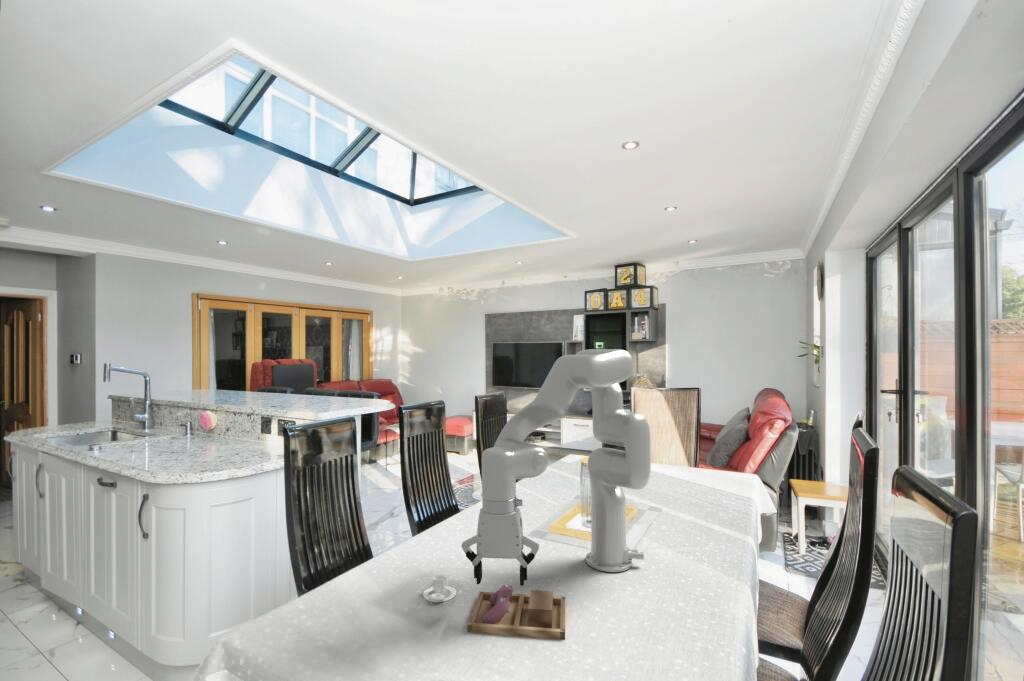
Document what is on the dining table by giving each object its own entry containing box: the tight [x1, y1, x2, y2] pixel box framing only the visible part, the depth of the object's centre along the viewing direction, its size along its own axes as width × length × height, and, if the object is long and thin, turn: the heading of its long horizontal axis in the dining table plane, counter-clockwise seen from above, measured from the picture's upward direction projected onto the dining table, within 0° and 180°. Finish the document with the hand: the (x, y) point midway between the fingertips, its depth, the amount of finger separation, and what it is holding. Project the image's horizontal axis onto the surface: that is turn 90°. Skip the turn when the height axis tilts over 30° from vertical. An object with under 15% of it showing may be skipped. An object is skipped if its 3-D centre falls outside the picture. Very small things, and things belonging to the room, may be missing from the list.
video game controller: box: [482, 583, 515, 624], centre depth 103 cm, size 10×5×7 cm, turn 172°
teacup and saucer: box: [422, 574, 457, 603], centre depth 113 cm, size 9×8×4 cm
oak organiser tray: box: [467, 591, 566, 640], centre depth 102 cm, size 20×14×2 cm
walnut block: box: [528, 589, 554, 628], centre depth 102 cm, size 5×8×4 cm, turn 173°
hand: (500, 582), depth 104 cm, fingers open, 9 cm apart
